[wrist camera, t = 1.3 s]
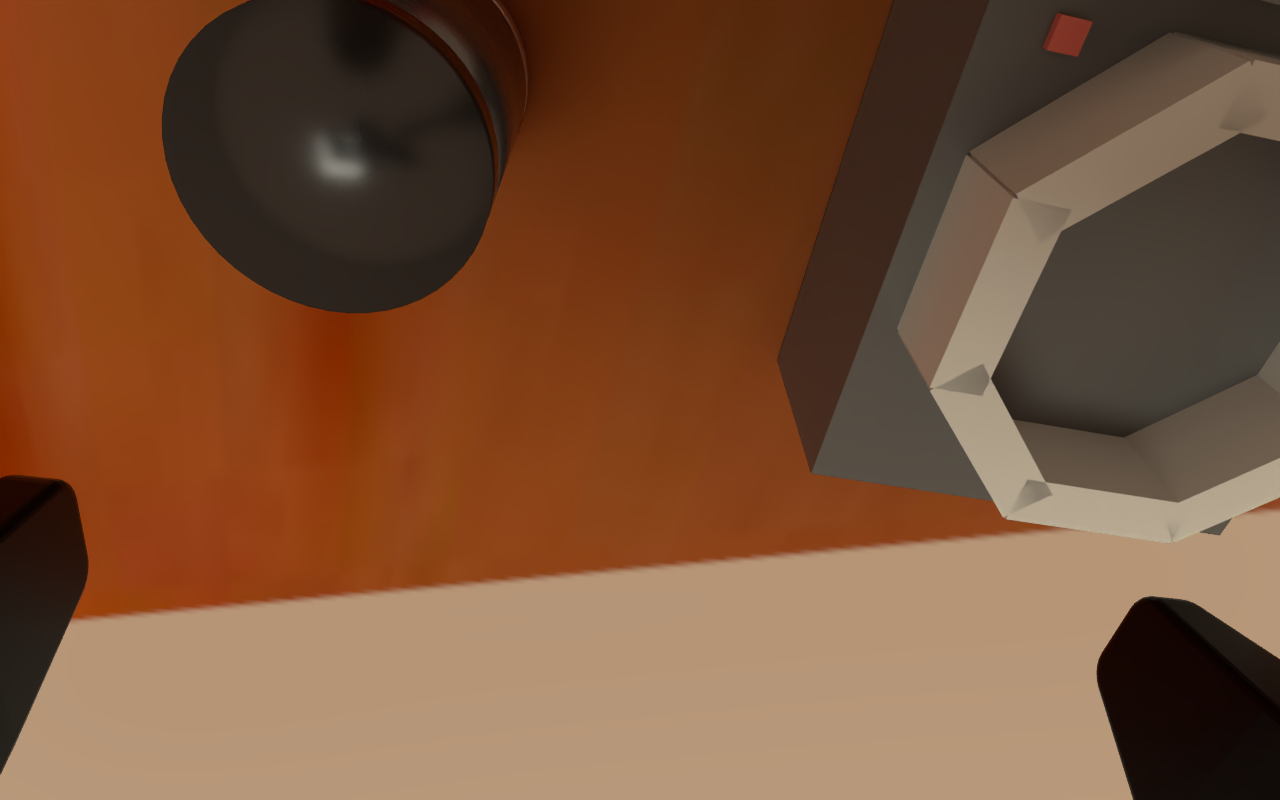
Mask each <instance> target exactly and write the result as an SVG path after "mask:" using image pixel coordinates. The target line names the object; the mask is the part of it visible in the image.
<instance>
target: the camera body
mask: <svg viewBox="0 0 1280 800" xmlns="http://www.w3.org/2000/svg"><path fill="white" fill-rule="evenodd" d="M777 361H778V365H779V368H780V371H781V375H782V378H783V381H784V385H785V388H786V391H787V395H788V398H789V401H790V405H791V408H792V411H793V415H794V418H795V421H796V425H797V428H798V431H799V435H800V438H801V441H802V445H803V448H804V451H805V455H806V458H807V461H808V465H809V468H810V471H811V473H812V474H818V475H825V476H832V477H838V478H845V479H851V480H858V481H865V482H871V483H878V484H884V485H891V486H898V487H904V488H911V489H917V490H924V491H931V492H937V493H944V494H950V495H957V496H964V497H970V498H977V499H983V500H990V501H994V503H995V504H996V506H997V508H998V509H999V511H1000V513H1001V515H1002V516H1003V517H1005V518H1006V519H1009V520H1015V521H1022V522H1029V523H1036V524H1042V525H1049V526H1056V527H1062V528H1069V529H1076V530H1082V531H1089V532H1096V533H1103V534H1109V535H1116V536H1123V537H1129V538H1136V539H1143V540H1150V541H1157V542H1163V543H1170V542H1171V541H1172V542H1173V543H1175V542H1177V541H1179V540H1182V539H1183V538H1186V537H1189V536H1191V535H1193V534H1196V533H1198V532H1201V533H1208V534H1214V535H1220V534H1221V533H1222V531H1223V530H1224V529H1225V527H1226V526H1227V524H1228V523H1229V522H1230V520H1231V519H1232V518H1233V517H1235V516H1238V515H1240V514H1242V513H1245V512H1247V511H1249V510H1252V509H1254V508H1256V507H1259V506H1261V505H1263V504H1265V503H1268V502H1270V501H1272V500H1275V499H1277V498H1279V497H1280V0H894V2H893V5H892V8H891V11H890V14H889V17H888V20H887V24H886V27H885V30H884V33H883V36H882V39H881V42H880V45H879V48H878V51H877V54H876V57H875V61H874V64H873V67H872V70H871V73H870V76H869V79H868V82H867V85H866V88H865V91H864V94H863V98H862V101H861V104H860V107H859V110H858V113H857V116H856V119H855V122H854V125H853V128H852V131H851V135H850V138H849V141H848V144H847V147H846V150H845V153H844V156H843V159H842V162H841V165H840V168H839V171H838V175H837V178H836V181H835V184H834V187H833V190H832V193H831V196H830V199H829V202H828V205H827V208H826V212H825V215H824V218H823V221H822V224H821V227H820V230H819V233H818V236H817V239H816V242H815V245H814V249H813V252H812V255H811V258H810V261H809V264H808V267H807V270H806V273H805V276H804V279H803V282H802V285H801V289H800V292H799V295H798V298H797V301H796V304H795V307H794V310H793V313H792V316H791V319H790V322H789V326H788V329H787V332H786V335H785V338H784V341H783V344H782V347H781V350H780V353H779V356H778V359H777Z"/></svg>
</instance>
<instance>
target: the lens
mask: <svg viewBox="0 0 1280 800" xmlns="http://www.w3.org/2000/svg"><path fill="white" fill-rule="evenodd" d="M528 87H529V76H528V64H527V59H526V53H525V49H524V46H523V43H522V39H521V36H520V34H519V31H518V29H517V27H516V25H515V23H514V20H513V18H512V17H511V15H510V14H509V12H508V10H507V9H506V7H505V5H504V4H503V3H502V1H501V0H250V1H247V2H245V3H243V4H241V5H239V6H237V7H235V8H233V9H231V10H229V11H227V12H225V13H223V14H221V15H220V16H218V17H217V18H216V19H214V20H213V21H212V22H210V23H209V24H207V25H206V26H205V27H204V28H203V29H202V30H201V31H200V32H199V33H198V34H197V35H196V36H195V37H194V38H193V39H192V40H191V41H190V43H189V44H188V46H187V47H186V49H185V50H184V51H183V53H182V54H181V56H180V57H179V59H178V61H177V63H176V65H175V68H174V70H173V72H172V74H171V76H170V79H169V83H168V86H167V90H166V93H165V97H164V105H163V113H162V139H163V146H164V152H165V158H166V162H167V166H168V169H169V173H170V176H171V180H172V182H173V184H174V187H175V189H176V191H177V194H178V196H179V198H180V201H181V202H182V204H183V206H184V208H185V209H186V211H187V213H188V215H189V216H190V218H191V220H192V221H193V223H194V224H195V225H196V227H197V228H198V229H199V231H200V232H201V234H202V235H203V236H204V238H205V239H206V240H207V241H208V242H209V243H210V244H211V245H212V246H213V248H214V249H215V250H216V251H217V252H218V253H219V254H220V255H221V256H222V257H223V258H224V259H226V260H227V261H228V262H229V263H230V264H231V265H232V266H233V267H234V268H236V269H237V270H238V271H240V272H241V273H242V274H244V275H245V276H247V277H248V278H249V279H251V280H252V281H254V282H255V283H257V284H259V285H261V286H262V287H264V288H266V289H267V290H269V291H271V292H273V293H275V294H277V295H280V296H282V297H284V298H286V299H288V300H291V301H294V302H297V303H300V304H303V305H306V306H309V307H313V308H318V309H322V310H327V311H334V312H343V313H371V312H379V311H386V310H390V309H394V308H398V307H402V306H405V305H408V304H410V303H413V302H415V301H418V300H420V299H422V298H424V297H426V296H427V295H429V294H431V293H433V292H434V291H436V290H438V289H439V288H440V287H441V286H443V285H444V284H445V283H447V282H448V281H449V280H451V279H452V278H453V276H454V275H455V274H456V273H457V272H458V271H459V270H460V269H461V268H462V267H463V266H464V265H465V263H466V262H467V260H468V259H469V258H470V256H471V255H472V253H473V252H474V250H475V248H476V246H477V244H478V242H479V240H480V238H481V236H482V234H483V231H484V228H485V225H486V223H487V220H488V217H489V214H490V211H491V208H492V205H493V202H494V200H495V197H496V194H497V191H498V188H499V185H500V182H501V179H502V176H503V174H504V171H505V168H506V165H507V162H508V159H509V156H510V153H511V150H512V148H513V145H514V142H515V139H516V136H517V133H518V130H519V127H520V125H521V122H522V119H523V116H524V113H525V109H526V104H527V99H528Z"/></svg>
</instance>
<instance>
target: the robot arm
mask: <svg viewBox="0 0 1280 800" xmlns="http://www.w3.org/2000/svg"><path fill="white" fill-rule="evenodd" d="M87 576H88V555H87V549H86V544H85V539H84V534H83V529H82V523H81V518H80V513H79V508H78V503H77V498H76V495H75V492H74V490H73V488H72V487H71V485H69V484H68V483H67V482H65V481H63V480H59V479H52V478H42V477H33V476H24V475H9V476H5V477H2V478H0V774H1V773H2V771H3V768H4V766H5V764H6V762H7V760H8V758H9V756H10V754H11V752H12V750H13V748H14V746H15V743H16V741H17V739H18V737H19V734H20V732H21V730H22V728H23V725H24V723H25V721H26V719H27V717H28V714H29V712H30V710H31V708H32V705H33V703H34V701H35V699H36V696H37V694H38V692H39V690H40V687H41V685H42V683H43V681H44V678H45V676H46V674H47V671H48V669H49V667H50V665H51V663H52V660H53V658H54V656H55V653H56V651H57V649H58V647H59V645H60V643H61V640H62V638H63V636H64V634H65V631H66V629H67V627H68V625H69V622H70V620H71V618H72V616H73V613H74V611H75V609H76V607H77V604H78V602H79V600H80V598H81V595H82V593H83V590H84V588H85V584H86V581H87ZM1097 683H1098V687H1099V690H1100V693H1101V697H1102V700H1103V703H1104V707H1105V710H1106V713H1107V716H1108V719H1109V723H1110V726H1111V729H1112V732H1113V736H1114V739H1115V742H1116V745H1117V749H1118V752H1119V755H1120V758H1121V761H1122V765H1123V768H1124V771H1125V774H1126V778H1127V781H1128V784H1129V787H1130V790H1131V794H1132V797H1133V800H1280V659H1279V658H1277V657H1276V656H1274V655H1272V654H1271V653H1269V652H1268V651H1267V650H1265V649H1263V648H1262V647H1260V646H1259V645H1257V644H1256V643H1254V642H1253V641H1251V640H1250V639H1248V638H1247V637H1245V636H1244V635H1242V634H1241V633H1239V632H1238V631H1236V630H1235V629H1233V628H1232V627H1230V626H1229V625H1227V624H1226V623H1224V622H1223V621H1221V620H1219V619H1218V618H1216V617H1215V616H1213V615H1212V614H1210V613H1209V612H1207V611H1206V610H1204V609H1203V608H1201V607H1200V606H1198V605H1196V604H1195V603H1192V602H1189V601H1186V600H1181V599H1173V598H1163V597H1154V596H1150V597H1144V598H1142V599H1140V600H1139V601H1137V602H1136V603H1134V605H1133V606H1132V607H1131V608H1130V610H1129V612H1128V613H1127V615H1126V616H1125V618H1124V619H1123V621H1122V623H1121V624H1120V626H1119V627H1118V629H1117V630H1116V632H1115V633H1114V635H1113V636H1112V638H1111V640H1110V641H1109V643H1108V644H1107V646H1106V647H1105V649H1104V650H1103V652H1102V654H1101V656H1100V658H1099V661H1098V664H1097Z"/></svg>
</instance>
